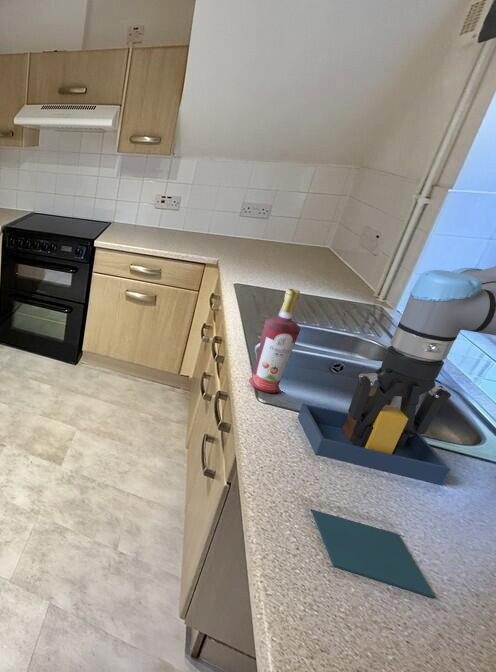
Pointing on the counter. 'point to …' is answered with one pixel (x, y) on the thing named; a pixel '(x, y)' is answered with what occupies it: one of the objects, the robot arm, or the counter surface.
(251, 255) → the counter surface
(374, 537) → the mat
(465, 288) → the robot arm
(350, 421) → the walnut piece
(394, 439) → the mustard piece
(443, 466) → the bin
